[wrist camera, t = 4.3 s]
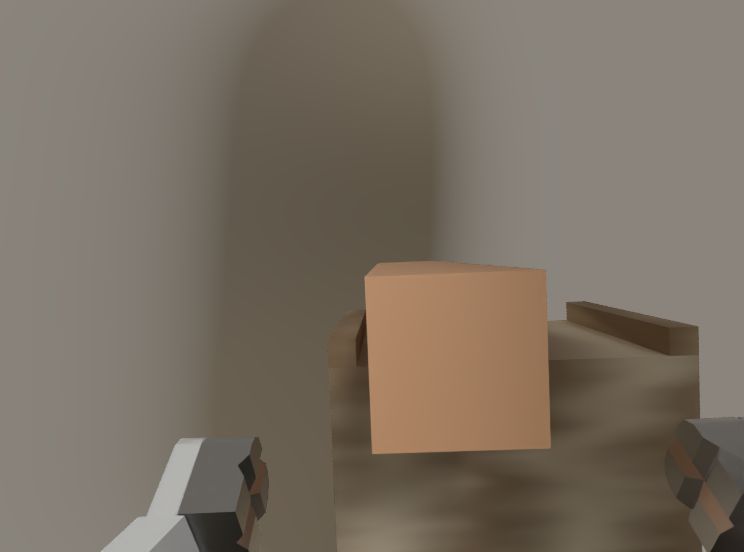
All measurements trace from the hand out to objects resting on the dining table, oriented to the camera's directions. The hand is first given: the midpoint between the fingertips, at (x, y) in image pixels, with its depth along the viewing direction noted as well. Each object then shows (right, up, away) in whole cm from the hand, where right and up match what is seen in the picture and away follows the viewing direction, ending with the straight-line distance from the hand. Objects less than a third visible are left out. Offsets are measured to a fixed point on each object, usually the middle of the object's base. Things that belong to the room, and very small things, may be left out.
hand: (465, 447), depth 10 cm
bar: (0, 0, +11) cm, 11 cm away
